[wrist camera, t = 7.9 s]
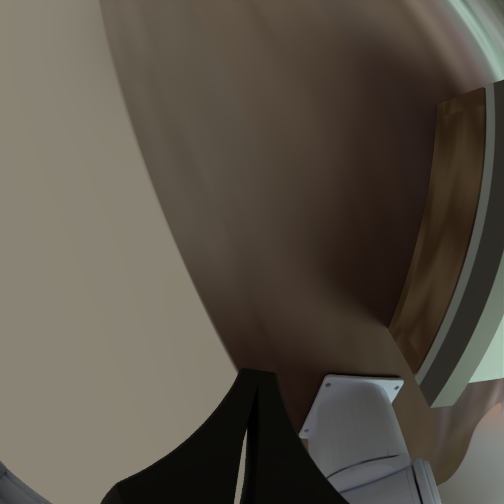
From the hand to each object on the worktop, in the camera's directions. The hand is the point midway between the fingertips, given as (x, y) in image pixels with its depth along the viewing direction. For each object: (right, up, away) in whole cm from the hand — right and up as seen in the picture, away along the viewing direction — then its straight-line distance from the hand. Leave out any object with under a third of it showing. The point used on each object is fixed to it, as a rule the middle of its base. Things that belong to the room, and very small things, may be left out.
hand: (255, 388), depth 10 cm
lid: (+20, +4, +1) cm, 21 cm away
